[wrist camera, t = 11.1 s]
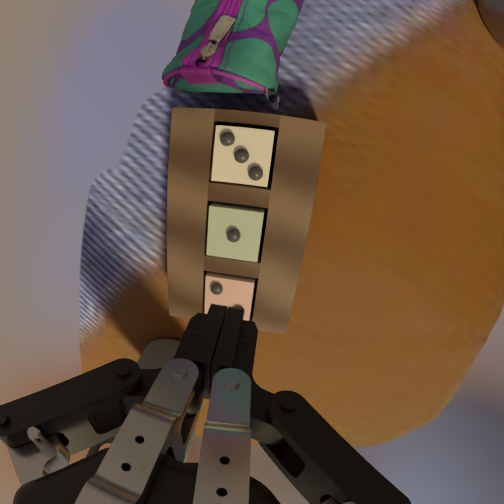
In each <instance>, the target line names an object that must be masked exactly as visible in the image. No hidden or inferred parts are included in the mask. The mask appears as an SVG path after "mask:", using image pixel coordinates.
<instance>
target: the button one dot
mask: <svg viewBox="0 0 504 504" xmlns="http://www.w3.org/2000/svg"><path fill="white" fill-rule="evenodd" d="M264 211H265V208H262V207H254V206H247V205H239V204H231V203H223V202H214V201H213V202H212V203H211V205H210V206H209V218H208V235H207V254H206V255H209V256H216V257H223V258H230V259H237V260H244V261H251V262H257V261H258V254H259V248H260V240H261V233H262V225H263V218H264Z"/></svg>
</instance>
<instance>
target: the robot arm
mask: <svg viewBox="0 0 504 504" xmlns="http://www.w3.org/2000/svg"><path fill="white" fill-rule="evenodd" d="M477 4H478V9H479V12H480V15H481V17H482V19H483V21H484V23H485V25H486V27H487V28H488V30H489V31H490V33H491V34H492V36H493V37H494V38H495V40H496V41H497V42H498V43H499V44H500V45H501V46H502V47H503V48H504V0H477ZM243 318H244V309H243V308H236V307H230V306H228V307H227V306H224V305H218V304H211V305H210V308H209V310H208V313H207V314H204V313H199V312H198V313H197V314H196V315H194V316H193V317H192V318H191V319H190V321H189V323H188V326H187V328H186V330H185V333H184V335H183V337H182V340H181V342H180V344H179V347H178V349H177V351H176V354H175V356H174V358H173V359H172V360H170V361H168V362H166V363H165V364H164V366H163V367H162V368H157V369H140V366H139V365H138V364H137V363H136V362H135V361H133V360H131V359H125V358H123V359H117V360H115V361H112V362H110V363H108V364H105V365H103V366H100V367H98V368H96V369H93V370H91V371H89V372H86V373H84V374H81V375H79V376H76V377H74V378H71V379H69V380H67V381H64V382H62V383H59V384H56V385H54V386H51V387H49V388H47V389H44V390H41V391H38V392H36V393H33V394H31V395H28V396H25V397H23V398H20V399H17V400H14V401H12V402H9V403H6V404H3V405H0V439H1V440H2V441H3V442H4V443H5V445H6V446H7V448H8V451H9V454H10V457H11V460H12V463H13V465H14V468H15V471H16V473H17V476H18V478H19V481H20V483H21V485H22V486H21V487H20V488H19V489H18V491H17V492H16V494H15V496H14V500H13V504H280V503H279V501H278V500H277V499H276V497H275V496H274V495H273V493H272V492H271V491H270V490H269V489H268V488H267V487H266V486H265V485H263V484H262V483H261V482H259V481H258V480H256V479H255V478H253V477H250V451H251V450H250V449H251V438H253V439H255V440H257V441H258V442H259V444H260V446H261V447H262V448H263V449H264V451H265V452H266V453H267V454H268V456H269V457H270V458H271V459H272V461H273V462H274V463H275V464H276V465H277V467H278V468H279V469H280V470H281V471H282V473H283V474H284V475H285V476H286V477H287V478H288V480H289V481H290V482H291V483H292V484H293V485H294V487H295V488H296V489H297V490H298V491H299V492H300V493H301V494H302V495H303V496H304V498H305V499H306V500H307V501H308V502H309V503H310V504H411V502H410V500H409V499H408V498H407V497H406V496H405V495H404V494H403V493H402V492H401V491H399V490H398V489H397V488H396V487H395V486H394V485H393V484H392V483H390V482H389V481H388V480H387V479H386V478H385V477H384V476H383V475H381V474H380V473H379V472H378V471H377V470H376V469H375V468H374V467H373V466H372V465H371V464H370V463H368V462H367V461H366V460H365V459H364V458H363V457H362V456H361V455H360V454H359V453H358V452H357V451H356V450H355V449H354V448H353V447H352V446H351V445H350V444H349V443H348V442H347V441H346V440H345V439H344V438H343V437H341V436H340V435H339V434H338V433H337V432H336V431H335V430H334V429H333V428H332V427H331V426H330V425H329V423H328V422H327V421H326V420H325V419H324V418H323V417H322V416H321V415H320V414H319V413H318V412H317V411H316V410H315V409H314V408H313V407H312V406H311V405H310V404H309V403H308V402H307V401H306V400H305V399H304V398H303V397H302V396H301V395H300V394H298V393H296V392H293V391H280V392H277V393H275V394H273V393H271V392H268V391H266V390H264V389H262V388H260V387H259V386H258V385H257V384H256V383H255V381H254V379H253V376H252V371H253V364H254V356H255V349H256V341H257V334H258V329H257V327H256V324H255V322H253V321H247V320H243ZM203 398H206V399H210V401H209V408H208V414H207V420H206V423H205V425H204V431H203V437H202V444H201V451H200V457H199V463H184V459H185V452H186V448H187V445H188V442H189V440H190V437H191V434H192V432H193V429H194V427H195V424H196V421H197V419H198V416H199V413H200V408H201V404H202V401H203ZM115 435H116V437H115V439H114V441H113V443H112V444H111V446H110V447H109V448H106V449H103V450H100V451H98V452H96V453H94V454H92V455H90V456H88V457H86V458H84V459H81V460H79V461H77V462H75V463H73V464H71V465H69V461H70V456H71V455H73V454H75V453H78V452H80V451H83V450H85V449H87V448H89V447H92V446H94V445H96V444H98V443H101V442H103V441H105V440H107V439H109V438H111V437H113V436H115Z"/></svg>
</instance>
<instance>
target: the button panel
mask: <svg viewBox="0 0 504 504" xmlns="http://www.w3.org/2000/svg"><path fill="white" fill-rule="evenodd" d="M217 121H219V122H232V123H243V124H252V125H261V126H269V127H277V128H279V132H278V140H277V147H276V155H275V163H274V170H273V178H272V185H271V188H270V187H262V186H254V185H247V184H238V183H230V182H221V181H211V176H212V164H213V153H214V142H215V132H216V122H217ZM325 130H326V123H325V122H320V121H314V120H308V119H303V118H296V117H290V116H283V115H275V114H268V113H259V112H249V111H239V110H226V109H209V108H173V107H172V118H171V130H170V144H169V161H168V185H167V271H168V295H169V313H170V316H175V317H180V318H185V319H191V318H192V317H193V316H194V315H196V314H197V313H198V312H199V313H205V277H206V271H210V272H217V273H224V274H231V275H237V276H244V277H251V278H258V285H257V292H256V299H255V301H254V300H252V306H251V312H250V319H249V321H253V322H255V324H256V327H257V329H258V330H259V331H267V332H275V333H283V334H286V330H287V326H288V321H289V317H290V313H291V309H292V304H293V300H294V296H295V291H296V287H297V282H298V278H299V273H300V269H301V264H302V259H303V254H304V249H305V245H306V240H307V235H308V229H309V224H310V219H311V214H312V208H313V203H314V197H315V192H316V186H317V180H318V174H319V168H320V162H321V156H322V150H323V143H324V137H325ZM210 201H214V202H223V203H231V204H239V205H247V206H254V207H262V208H268V214H267V221H266V229H265V236H264V243H263V250H262V257H261V259H260V258H258V261H257V262H251V261H244V260H237V259H230V258H223V257H216V256H209V255H206V254H207V235H208V218H209V203H210Z"/></svg>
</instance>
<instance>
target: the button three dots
mask: <svg viewBox="0 0 504 504" xmlns="http://www.w3.org/2000/svg"><path fill="white" fill-rule="evenodd" d="M274 134H275V131H273V130H265V129H257V128H248V127H238V126H226V125H216V132H215V142H214V153H213V164H212V177H211V181H221V182H230V183H238V184H247V185H254V186H262V187H267V186H268V180H269V173H270V165H271V157H272V150H273V142H274Z"/></svg>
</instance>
